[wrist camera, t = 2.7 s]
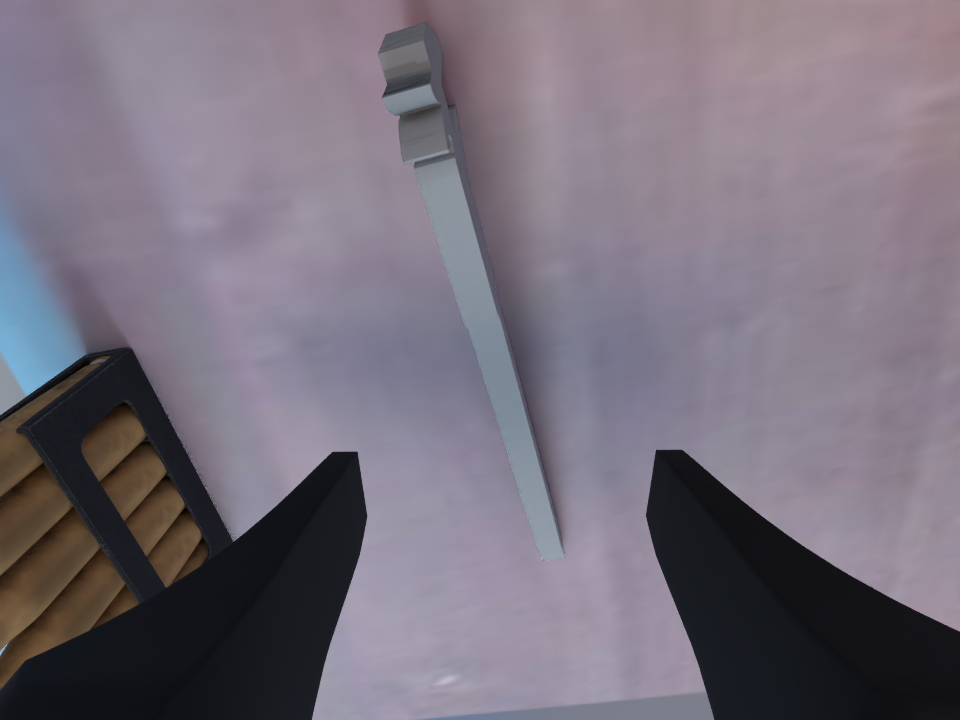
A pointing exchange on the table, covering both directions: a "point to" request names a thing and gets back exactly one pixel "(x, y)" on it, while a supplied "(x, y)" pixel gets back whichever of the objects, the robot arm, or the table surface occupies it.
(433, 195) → the caliper
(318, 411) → the table surface
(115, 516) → the ammunition clip
